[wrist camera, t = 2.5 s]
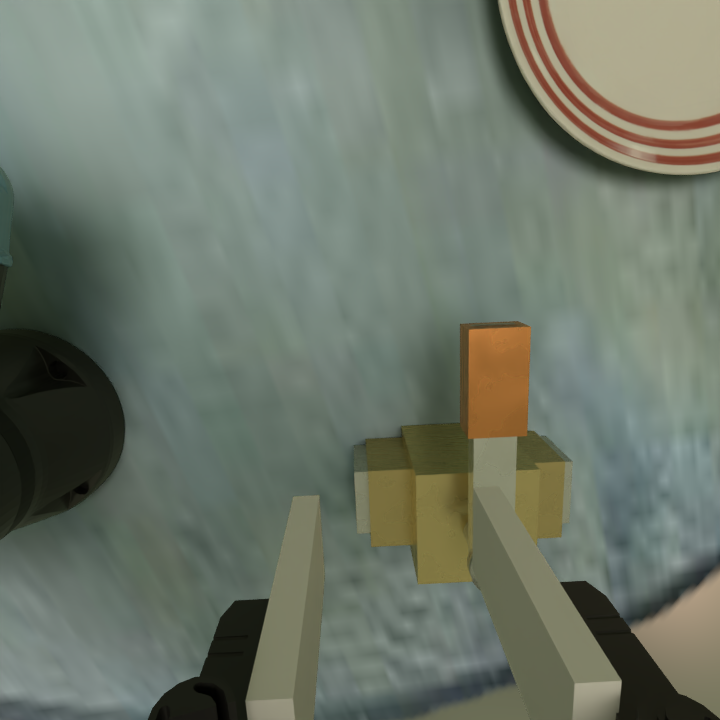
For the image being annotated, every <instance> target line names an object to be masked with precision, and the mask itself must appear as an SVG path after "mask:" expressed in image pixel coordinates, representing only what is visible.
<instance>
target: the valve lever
mask: <svg viewBox="0 0 720 720" xmlns="http://www.w3.org/2000/svg"><path fill="white" fill-rule="evenodd" d="M530 335H531V327H530V326H528V325H525V324H523V323H521V322H518V321H512V322H490V323H469V324H460V427H461V428H462V430H463V431H464V433H465V434H466V436H467V438H468V439H469V443H468V522H467V523H466V525H465V526H464V530H463V534H464V537H465V539H466V542H467V545H468V553H469V554H468V557H467V567H468V570H469V573H470V575H471V578H472V581H473V583H474V584H475V586H476V587H477V588H478V589H480V587H479V585H478V582H477V580H476V577H475V574H474V572H473V569H472V566H473V487H492V486H499V487H500V489H501V490H502V492H503V494H504V495H505V497H506V498H507V500H508V501H509V503H510V505H511V506H512V508H513V509H514V511H515V492H516V458H517V437H518V436H527V422H528V393H529V364H530Z"/></svg>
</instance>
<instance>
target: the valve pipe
mask: <svg viewBox="0 0 720 720" xmlns="http://www.w3.org/2000/svg"><path fill="white" fill-rule="evenodd" d="M401 430H402V437H398V438H377V439H366V445H354V479H355V498H356V518H357V534H361V533H370V534H371V547H379V546H398V545H410V547H411V552H412V557H413V562H414V567H415V572H416V577H417V582H418V584H432V583H451V582H471V581H472V578H471V575H470V573H469V570H468V567H467V557H468V554H469V553H468V545H467V542H466V539H465V537H464V534H463V530H464V526H465V525H466V523H467V522H468V443H469V439H468V438H467V436H466V434H465V433H464V431H463V430H462V428H461V427H460V423H451V424H430V425H410V426H401ZM572 464H573V461H572V460H571V459H569V458H568V457H567V456H566V455H565V454H564V453H563V452H562V451H561V450H560V449H559V448H558V447H557V446H556V445H555V444H554V443H553V442H552V441H550V440H549V439H548V438H547V437H546V436H539V435H538V434H537V433H536V432H535V431H527V436H518V437H517V458H516V492H515V513H516V514H517V516H518V517H519V519H520V520H521V522H522V524H523V525H524V527H525V528H526V530H527V532H528V533H529V535H530V536H531V538H532V539H533V541H534V543H535V544H536V546H537V538H555V537H561V533H562V523H569V516H570V499H571V481H572Z"/></svg>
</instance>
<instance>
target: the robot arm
mask: <svg viewBox="0 0 720 720" xmlns="http://www.w3.org/2000/svg"><path fill="white" fill-rule="evenodd" d="M13 205H14V193H13V188H12V185H11V183H10V180H9V178H8V177H7V175H6V173H5V172H4V171H3V169H2V168H1V167H0V308H1V302H2V297H3V291H4V285H5V280H6V274H7V269H8V267H12V263H13V257H12V256H11V255H10V254H9V248H10V234H11V223H12V214H13ZM123 441H124V419H123V413H122V409H121V405H120V402H119V399H118V397H117V395H116V392H115V390H114V388H113V386H112V385H111V383H110V381H109V380H108V378H107V377H106V376H105V374H104V373H103V372H102V370H101V369H100V368H99V367H98V366H97V365H96V364H95V363H94V362H93V361H92V360H91V359H90V358H89V357H88V356H87V355H85V354H84V353H83V352H82V351H80V350H79V349H77V348H76V347H74V346H73V345H71V344H69V343H68V342H66V341H64V340H62V339H59V338H57V337H55V336H52V335H49V334H46V333H43V332H39V331H34V330H27V329H2V330H0V540H1V539H2V538H3V537H5V536H6V535H7V534H8V533H9V532H11V531H13V530H16V529H18V528H21V527H24V526H27V525H30V524H33V523H35V522H38V521H41V520H44V519H47V518H49V517H52V516H55V515H58V514H60V513H63V512H65V511H67V510H69V509H71V508H73V507H74V506H76V505H78V504H79V503H81V502H82V501H83V500H85V499H86V498H87V497H88V496H89V495H90V494H92V493H93V492H94V491H95V490H96V489H97V488H98V487H99V486H100V485H101V484H102V483H103V482H104V481H105V480H106V479H107V478H108V477H109V475H110V474H111V472H112V471H113V469H114V468H115V466H116V464H117V462H118V460H119V457H120V454H121V451H122V447H123ZM472 569H473V572H474V574H475V577H476V580H477V582H478V585H479V587H480V590H481V593H482V595H483V598H484V600H485V603H486V606H487V608H488V611H489V613H490V616H491V619H492V621H493V624H494V626H495V629H496V632H497V634H498V637H499V640H500V642H501V645H502V647H503V650H504V653H505V655H506V658H507V660H508V663H509V666H510V668H511V671H512V673H513V676H514V679H515V681H516V684H517V686H518V689H519V692H520V694H521V697H522V699H523V702H524V705H525V707H526V710H527V712H528V715H529V717H530V720H720V719H719V718H718V717H717V716H716V715H714V714H713V713H712V712H711V711H710V710H708V709H707V708H706V707H705V706H703V705H702V704H700V703H698V702H696V701H694V700H692V699H690V698H688V697H687V696H684V695H680V694H678V693H677V691H676V690H675V689H674V687H673V686H672V685H671V683H670V682H669V680H668V679H667V678H666V676H665V675H664V674H663V672H662V671H661V670H660V668H659V667H658V666H657V664H656V663H655V662H654V660H653V659H652V657H651V656H650V655H649V653H648V652H647V651H646V650H645V648H644V647H643V645H642V644H641V643H640V641H639V640H638V639H637V637H636V636H635V635H634V634H633V633H631V629H630V628H629V626H628V625H627V624H626V622H625V621H624V620H623V618H620V616H619V613H618V612H617V610H616V609H615V608H614V606H613V605H612V603H611V602H610V601H609V599H608V598H607V597H606V596H605V595H604V594H603V593H601V592H600V591H599V590H597V589H596V588H595V587H593V586H592V585H590V584H589V583H588V582H586V581H574V582H559V581H558V579H557V577H556V576H555V574H554V573H553V571H552V570H551V568H550V566H549V565H548V563H547V562H546V560H545V558H544V557H543V555H542V554H541V552H540V551H539V549H538V547H537V546H536V544H535V543H534V541H533V539H532V538H531V536H530V535H529V533H528V532H527V530H526V528H525V527H524V525H523V524H522V522H521V520H520V519H519V517H518V516H517V514H516V513H515V511H514V509H513V508H512V506H511V505H510V503H509V501H508V500H507V498H506V497H505V495H504V494H503V492H502V490H501V489H500V487H499V486H492V487H473V566H472ZM324 581H325V571H324V557H323V543H322V528H321V514H320V499H319V495H312V496H293V500H292V504H291V509H290V513H289V517H288V521H287V526H286V530H285V534H284V538H283V543H282V547H281V551H280V556H279V560H278V564H277V568H276V573H275V577H274V581H273V585H272V590H271V594H270V598H269V599H257V600H238V601H235V602H234V603H233V604H232V605H231V606H230V607H229V609H228V610H227V611H226V612H225V613H224V614H223V615H222V617H221V618H220V621H219V623H218V626H217V629H216V632H215V635H214V640H213V641H212V643H211V646H210V649H209V652H208V657H207V658H206V660H205V663H204V666H203V668H202V671H201V674H200V677H194V678H191V679H189V680H186V681H184V682H181V683H179V684H177V685H176V686H175V687H173V688H172V689H170V690H169V691H168V692H166V693H165V694H164V695H163V696H162V697H161V698H160V700H159V701H158V702H157V703H156V704H155V706H154V707H153V708H152V711H151V713H150V716H149V718H148V720H314V707H315V695H316V682H317V669H318V657H319V644H320V632H321V619H322V606H323V594H324Z"/></svg>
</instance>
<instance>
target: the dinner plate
mask: <svg viewBox="0 0 720 720" xmlns="http://www.w3.org/2000/svg"><path fill="white" fill-rule="evenodd" d="M498 6H499V11H500V15H501V20H502V24H503V27H504V31H505V34H506V37H507V40H508V43H509V46H510V49H511V51H512V53H513V56H514V58H515V60H516V63H517V65H518V67H519V69H520V71H521V73H522V75H523V77H524V79H525V81H526V82H527V84H528V86H529V87H530V89H531V91H532V92H533V94H534V96H535V97H536V98H537V100H538V101H539V102H540V104H541V105H542V106H543V108H544V109H545V110H546V111H547V113H548V114H549V115H550V116H551V117H552V118H553V120H554V121H556V122H557V123H558V124H559V125H560V126H561V127H562V128H563V129H564V130H565V131H566V132H567V133H569V134H570V135H571V136H572V137H573V138H574V139H576V140H577V141H578V142H580V143H581V144H582V145H584V146H585V147H587V148H589V149H590V150H592V151H594V152H595V153H597V154H599V155H601V156H603V157H605V158H607V159H609V160H611V161H614V162H616V163H619V164H621V165H624V166H627V167H631V168H634V169H638V170H643V171H647V172H653V173H660V174H670V175H696V174H705V173H711V172H717V171H720V0H498Z"/></svg>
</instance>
